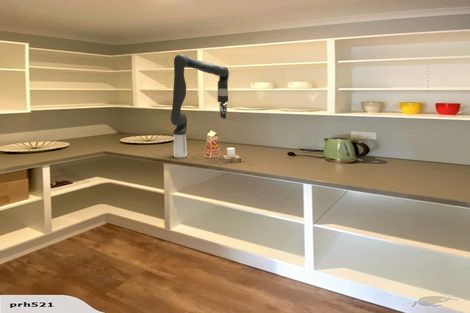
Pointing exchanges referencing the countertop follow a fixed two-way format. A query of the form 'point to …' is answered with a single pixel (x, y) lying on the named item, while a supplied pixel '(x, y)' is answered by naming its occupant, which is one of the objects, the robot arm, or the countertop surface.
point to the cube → (230, 152)
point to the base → (230, 159)
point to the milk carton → (212, 145)
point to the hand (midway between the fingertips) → (223, 118)
